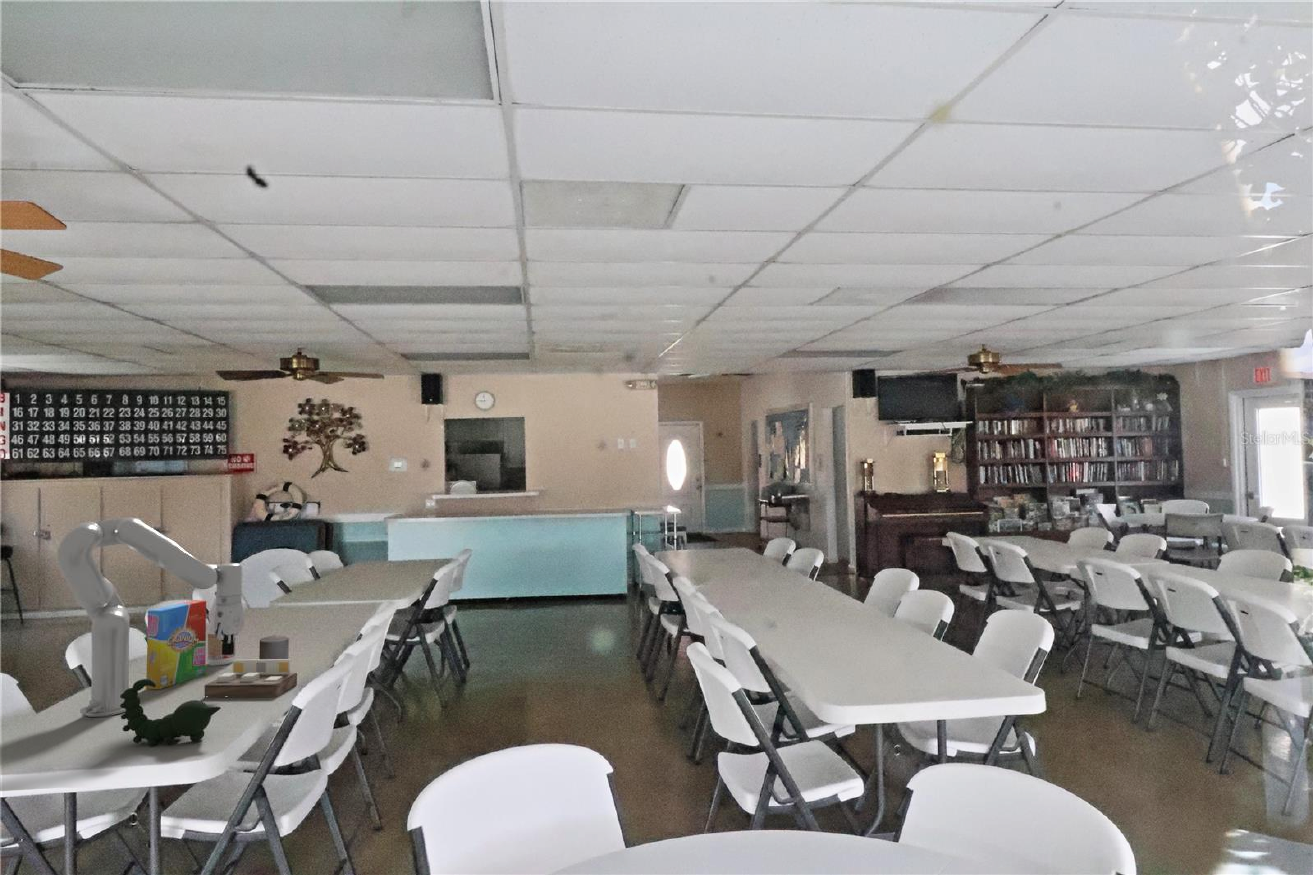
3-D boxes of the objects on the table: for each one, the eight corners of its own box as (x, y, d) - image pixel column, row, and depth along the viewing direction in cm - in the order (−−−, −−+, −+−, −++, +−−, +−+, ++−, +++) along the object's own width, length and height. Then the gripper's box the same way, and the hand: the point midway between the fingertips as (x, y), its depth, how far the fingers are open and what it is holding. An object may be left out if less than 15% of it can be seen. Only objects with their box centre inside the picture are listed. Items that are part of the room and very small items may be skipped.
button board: (275, 697, 248) (275, 684, 249) (204, 697, 249) (204, 685, 249) (297, 684, 262) (297, 673, 263) (229, 685, 263) (229, 673, 263)
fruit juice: (209, 667, 287) (210, 593, 288) (205, 662, 294) (206, 590, 295) (237, 663, 293) (238, 590, 294) (232, 658, 300) (233, 588, 301)
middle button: (252, 683, 253) (252, 676, 253) (241, 683, 253) (241, 676, 253) (259, 679, 257) (259, 672, 257) (247, 680, 257) (247, 672, 257)
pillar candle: (252, 678, 271) (253, 636, 272) (276, 670, 280) (277, 630, 281) (271, 681, 267) (271, 639, 268) (294, 674, 276) (295, 633, 276)
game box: (158, 690, 258) (159, 610, 259) (145, 689, 259) (146, 610, 260) (206, 673, 278) (206, 600, 279) (193, 673, 279) (194, 599, 280)
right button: (276, 687, 253) (276, 679, 253) (264, 687, 253) (264, 679, 253) (282, 683, 257) (282, 676, 257) (270, 683, 257) (270, 676, 257)
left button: (229, 683, 253) (229, 676, 253) (217, 683, 253) (217, 676, 253) (236, 680, 257) (236, 673, 257) (224, 680, 257) (224, 673, 257)
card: (289, 674, 261) (289, 659, 261) (232, 674, 261) (232, 660, 262) (290, 673, 262) (290, 659, 262) (233, 674, 262) (233, 659, 262)
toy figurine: (117, 757, 203) (215, 743, 205) (111, 687, 203) (208, 674, 206) (137, 744, 212) (230, 731, 215) (131, 677, 212) (224, 665, 215)
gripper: (226, 604, 248) (225, 660, 247) (252, 596, 263) (251, 649, 262) (204, 604, 248) (203, 659, 248) (231, 596, 263) (230, 649, 263)
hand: (227, 654), depth 255 cm, fingers closed
